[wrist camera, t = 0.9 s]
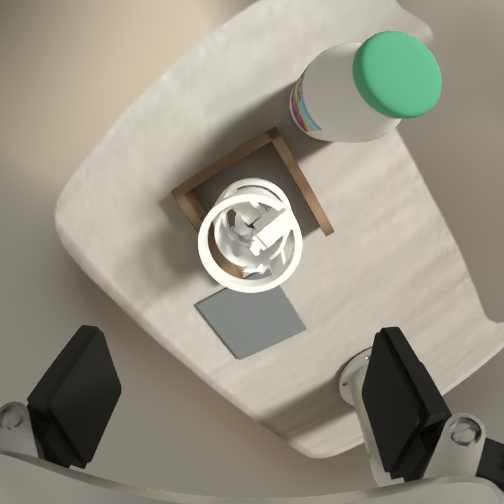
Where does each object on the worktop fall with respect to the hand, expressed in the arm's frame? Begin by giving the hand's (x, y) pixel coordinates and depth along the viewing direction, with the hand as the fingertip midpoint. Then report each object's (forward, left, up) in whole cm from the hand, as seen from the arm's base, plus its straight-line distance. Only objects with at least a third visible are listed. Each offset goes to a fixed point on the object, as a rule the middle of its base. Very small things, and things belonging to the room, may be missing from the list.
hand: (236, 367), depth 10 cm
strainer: (0, 0, -26) cm, 26 cm away
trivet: (-12, +7, -26) cm, 30 cm away
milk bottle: (+5, -12, -26) cm, 29 cm away
